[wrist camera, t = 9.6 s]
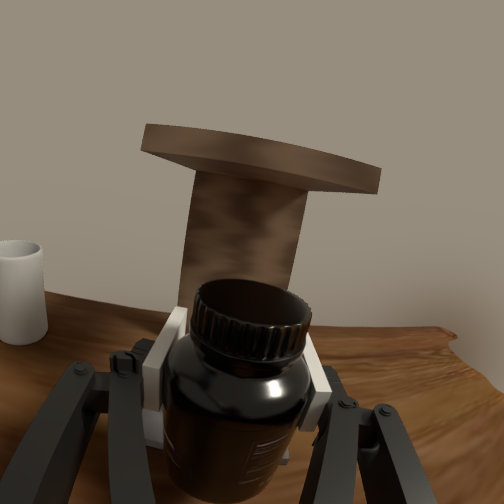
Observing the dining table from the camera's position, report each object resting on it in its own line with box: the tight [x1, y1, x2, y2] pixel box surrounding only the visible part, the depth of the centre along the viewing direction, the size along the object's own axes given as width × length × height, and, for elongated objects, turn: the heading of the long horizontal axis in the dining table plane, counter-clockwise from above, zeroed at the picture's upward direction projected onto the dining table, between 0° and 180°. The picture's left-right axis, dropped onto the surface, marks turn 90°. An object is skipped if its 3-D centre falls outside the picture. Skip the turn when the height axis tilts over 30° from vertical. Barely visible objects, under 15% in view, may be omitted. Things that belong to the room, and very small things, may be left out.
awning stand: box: [141, 124, 381, 465], centre depth 26 cm, size 13×20×24 cm, turn 2°
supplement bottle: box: [163, 278, 312, 504], centre depth 13 cm, size 7×7×12 cm
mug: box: [0, 240, 48, 345], centre depth 28 cm, size 12×8×11 cm
